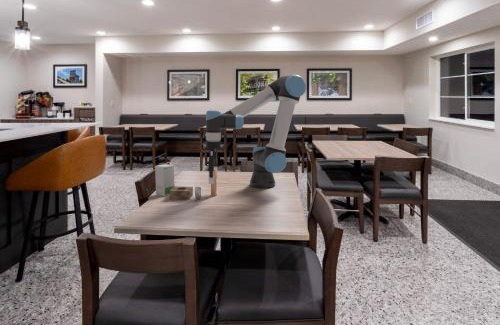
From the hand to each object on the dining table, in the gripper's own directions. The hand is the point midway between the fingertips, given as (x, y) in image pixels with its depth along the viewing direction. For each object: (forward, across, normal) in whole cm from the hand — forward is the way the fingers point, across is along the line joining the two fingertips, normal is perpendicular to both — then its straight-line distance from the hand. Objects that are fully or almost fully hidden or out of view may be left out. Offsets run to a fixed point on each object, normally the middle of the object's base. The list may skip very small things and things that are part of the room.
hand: (213, 181), depth 193 cm
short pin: (+8, +8, -7) cm, 13 cm away
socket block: (+8, +5, -16) cm, 18 cm away
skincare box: (+8, -1, -26) cm, 27 cm away
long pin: (+8, 0, 0) cm, 8 cm away
